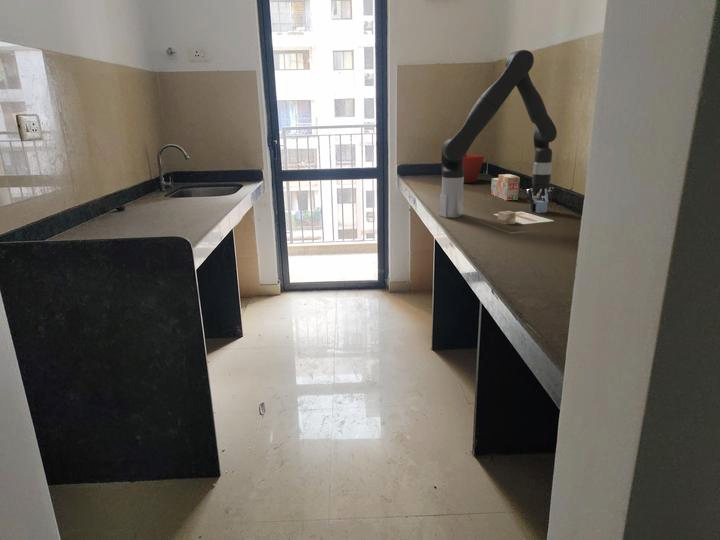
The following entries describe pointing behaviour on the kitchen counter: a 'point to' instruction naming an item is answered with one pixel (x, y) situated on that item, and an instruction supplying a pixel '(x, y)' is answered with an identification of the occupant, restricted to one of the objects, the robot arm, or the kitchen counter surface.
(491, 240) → the kitchen counter surface
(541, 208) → the blue-grey cube
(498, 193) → the stack of blocks
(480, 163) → the plant pot
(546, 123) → the robot arm
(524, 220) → the letter mat
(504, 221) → the beech block
